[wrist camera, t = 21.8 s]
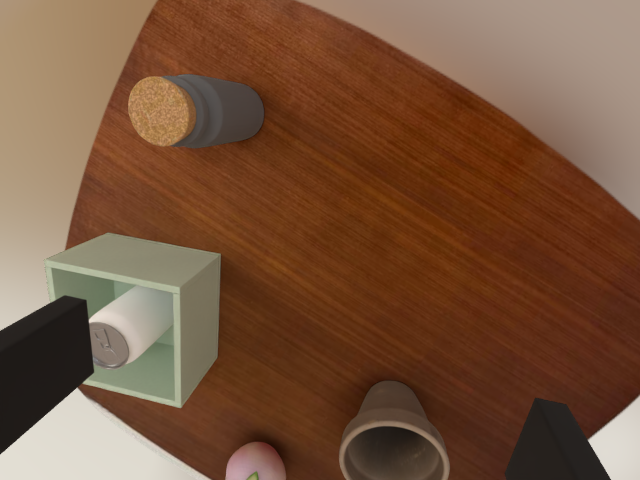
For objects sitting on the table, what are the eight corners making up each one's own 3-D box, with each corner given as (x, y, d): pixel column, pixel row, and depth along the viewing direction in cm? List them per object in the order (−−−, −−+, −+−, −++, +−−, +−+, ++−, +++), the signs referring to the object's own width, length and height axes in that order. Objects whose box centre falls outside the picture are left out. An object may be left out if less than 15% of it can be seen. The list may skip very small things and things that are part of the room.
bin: (107, 232, 48) (43, 259, 40) (221, 253, 46) (179, 287, 37) (115, 334, 54) (60, 378, 45) (217, 357, 52) (181, 408, 43)
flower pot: (413, 349, 46) (418, 410, 36) (453, 419, 48) (468, 493, 38) (332, 378, 49) (318, 441, 40) (373, 442, 51) (369, 516, 42)
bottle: (270, 134, 41) (206, 146, 27) (222, 144, 42) (136, 160, 28) (257, 77, 39) (181, 57, 25) (207, 89, 40) (108, 78, 26)
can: (157, 318, 51) (90, 376, 40) (139, 274, 49) (64, 323, 38) (198, 311, 49) (141, 370, 38) (181, 267, 47) (116, 314, 36)
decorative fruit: (287, 478, 57) (266, 550, 47) (236, 461, 58) (206, 528, 48) (299, 433, 53) (280, 501, 44) (245, 416, 54) (215, 478, 45)
